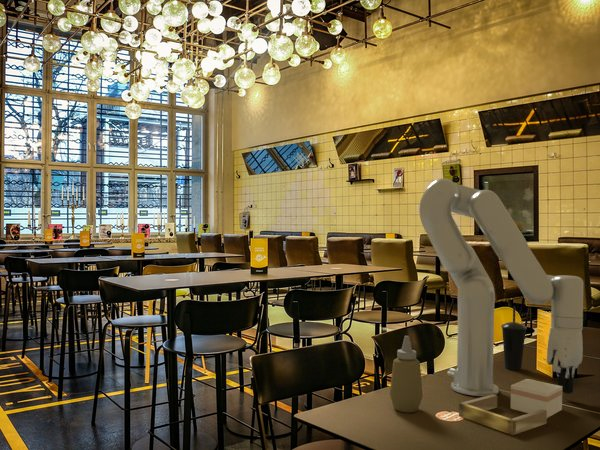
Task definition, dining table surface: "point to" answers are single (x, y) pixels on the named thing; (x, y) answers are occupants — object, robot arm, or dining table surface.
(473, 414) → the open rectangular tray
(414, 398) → the squeeze bottle
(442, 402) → the dining table surface
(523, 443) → the dining table surface
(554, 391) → the carton
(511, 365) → the drinking cup
